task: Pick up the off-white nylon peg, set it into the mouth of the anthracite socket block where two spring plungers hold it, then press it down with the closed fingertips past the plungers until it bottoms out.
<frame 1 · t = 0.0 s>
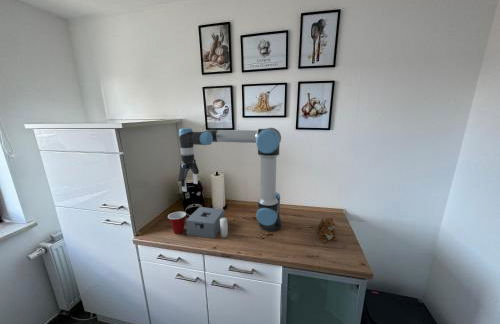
hand: (190, 187, 125), 28 cm above the worktop, fingers open, 13 cm apart
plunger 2: (210, 213, 134), point 7 cm above the worktop, slide at 0.0 cm
plastic cup: (178, 231, 127), on the worktop
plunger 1: (201, 223, 123), point 7 cm above the worktop, slide at 0.0 cm
stuffed squirrel: (325, 236, 121), on the worktop
socket block: (206, 228, 130), on the worktop
peg: (224, 235, 122), on the worktop
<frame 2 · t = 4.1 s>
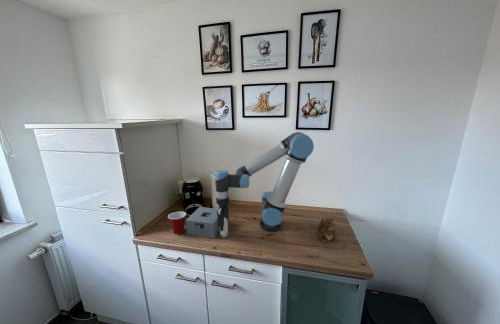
hand: (224, 232, 122), 2 cm above the worktop, fingers closed on peg, 4 cm apart
peg: (224, 235, 122), on the worktop, touching gripper
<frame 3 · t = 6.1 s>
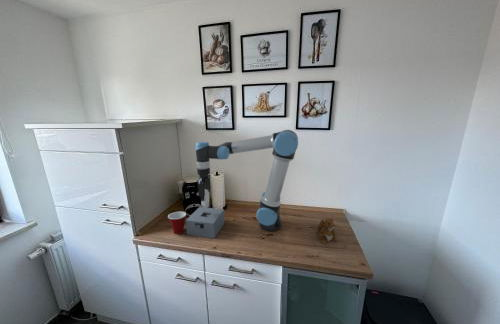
hand: (205, 203, 126), 18 cm above the worktop, fingers closed on peg, 4 cm apart
peg: (205, 206, 126), point 16 cm above the worktop, touching gripper
everything else where it was.
when the fingers open (11 cm above the worktop, at t = 8.1 s): peg drops 2 cm, point 6 cm above the worktop.
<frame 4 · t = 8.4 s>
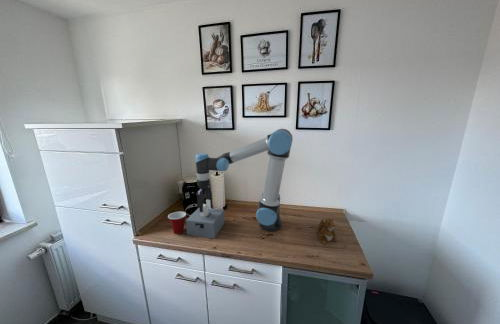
hand: (205, 212, 128), 12 cm above the worktop, fingers open, 9 cm apart
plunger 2: (210, 213, 135), point 7 cm above the worktop, slide at 0.7 cm
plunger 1: (201, 224, 122), point 7 cm above the worktop, slide at 0.7 cm
peg: (206, 219, 129), point 6 cm above the worktop, tilted 13°
everything else where it was.
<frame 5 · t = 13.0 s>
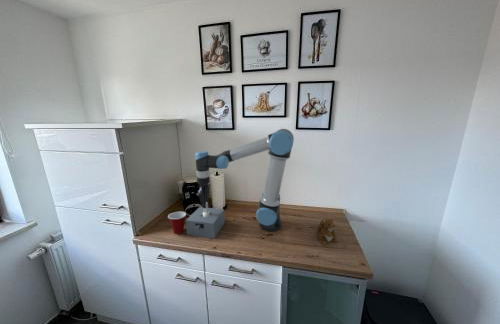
hand: (205, 211, 127), 12 cm above the worktop, fingers closed
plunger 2: (211, 212, 136), point 7 cm above the worktop, slide at 1.6 cm
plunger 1: (200, 224, 121), point 7 cm above the worktop, slide at 1.4 cm
peg: (207, 228, 131), resting in socket block
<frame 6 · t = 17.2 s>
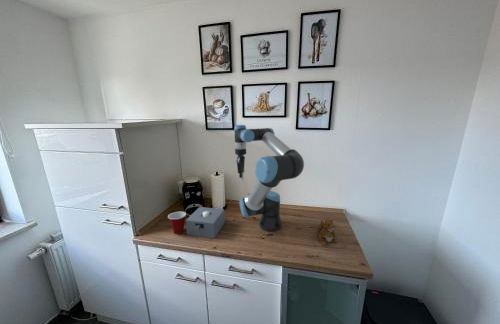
hand: (241, 181, 140), 26 cm above the worktop, fingers closed
at the end: peg 0.6 cm off-centre on the socket block, point 0.0 cm above the socket block's base; peg tilted 0°; the gripper is holding nothing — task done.
